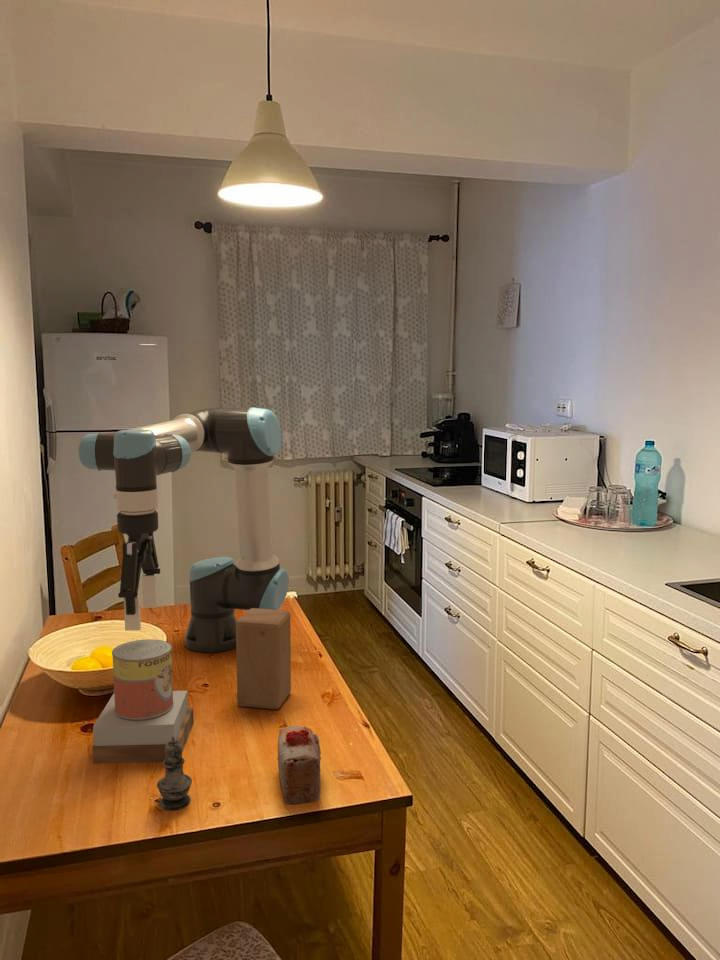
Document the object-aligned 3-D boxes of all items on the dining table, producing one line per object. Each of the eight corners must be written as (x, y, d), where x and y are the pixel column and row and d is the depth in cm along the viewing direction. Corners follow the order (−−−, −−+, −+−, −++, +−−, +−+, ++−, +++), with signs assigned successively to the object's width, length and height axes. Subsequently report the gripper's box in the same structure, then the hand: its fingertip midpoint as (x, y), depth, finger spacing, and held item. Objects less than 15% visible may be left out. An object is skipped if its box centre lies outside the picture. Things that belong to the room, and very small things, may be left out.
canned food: (155, 722, 142) (153, 662, 140) (102, 716, 144) (100, 656, 143) (183, 698, 152) (181, 641, 151) (134, 693, 155) (132, 637, 154)
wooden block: (279, 711, 163) (278, 623, 161) (235, 707, 165) (234, 620, 162) (292, 692, 173) (291, 609, 170) (251, 688, 175) (249, 606, 172)
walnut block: (117, 726, 158) (116, 708, 157) (193, 725, 158) (193, 707, 158) (93, 766, 142) (92, 746, 141) (178, 764, 142) (177, 745, 142)
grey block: (115, 710, 156) (114, 692, 156) (187, 708, 157) (187, 690, 156) (94, 746, 141) (93, 726, 141) (174, 744, 142) (173, 724, 142)
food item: (274, 765, 141) (274, 716, 140) (316, 761, 143) (316, 713, 142) (281, 806, 128) (281, 753, 127) (327, 801, 130) (327, 748, 128)
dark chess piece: (160, 814, 125) (158, 748, 124) (155, 796, 131) (152, 732, 129) (195, 806, 128) (193, 741, 126) (188, 789, 133) (187, 726, 131)
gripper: (134, 499, 155) (138, 597, 158) (97, 525, 130) (103, 641, 134) (170, 499, 155) (174, 597, 158) (141, 524, 131) (145, 640, 134)
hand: (142, 617), depth 146 cm, fingers open, 13 cm apart
